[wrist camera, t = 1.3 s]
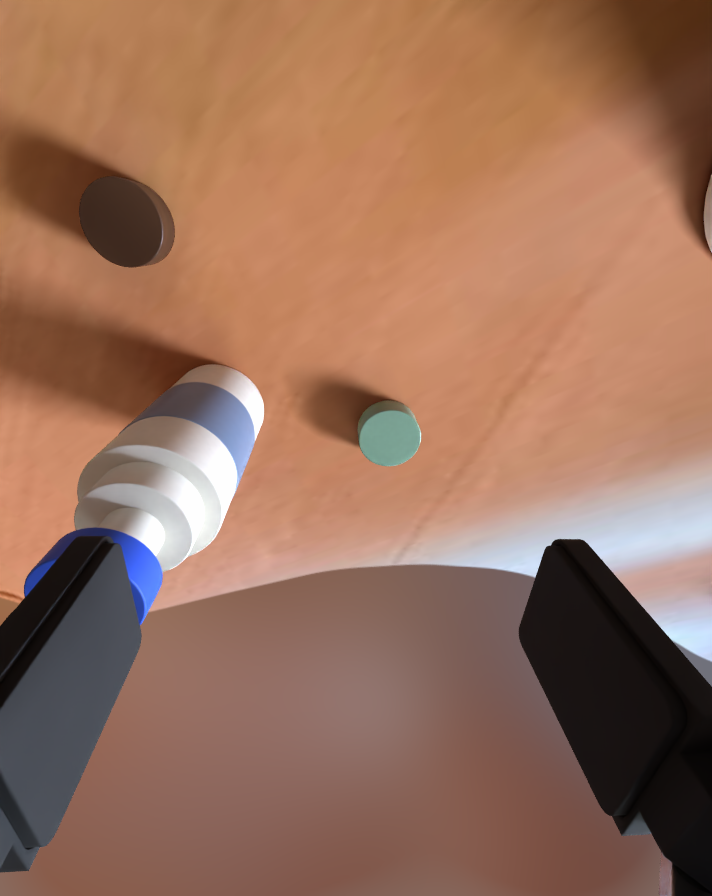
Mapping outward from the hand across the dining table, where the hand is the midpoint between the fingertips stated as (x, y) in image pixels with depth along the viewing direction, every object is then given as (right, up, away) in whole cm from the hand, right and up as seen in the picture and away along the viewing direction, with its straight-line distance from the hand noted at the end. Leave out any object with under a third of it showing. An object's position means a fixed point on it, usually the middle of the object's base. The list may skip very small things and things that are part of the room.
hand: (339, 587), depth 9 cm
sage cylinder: (+3, +5, +26) cm, 27 cm away
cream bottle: (-11, +6, +25) cm, 28 cm away
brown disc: (-14, +18, +19) cm, 30 cm away
